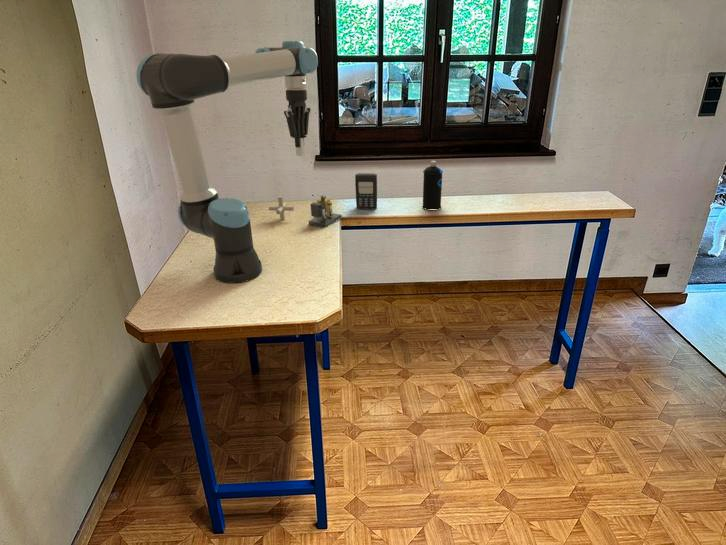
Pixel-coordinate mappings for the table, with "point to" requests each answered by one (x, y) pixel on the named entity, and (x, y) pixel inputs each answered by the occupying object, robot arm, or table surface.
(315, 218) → the bolt plate
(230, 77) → the robot arm
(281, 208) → the pipe connector
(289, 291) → the table surface
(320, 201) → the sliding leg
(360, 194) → the card reader
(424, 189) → the aerosol can
